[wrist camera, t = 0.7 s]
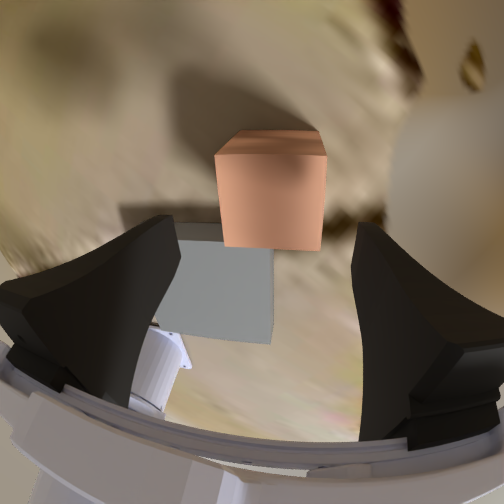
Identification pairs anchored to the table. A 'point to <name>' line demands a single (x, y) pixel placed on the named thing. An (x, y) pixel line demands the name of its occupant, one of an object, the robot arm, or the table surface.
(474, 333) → the robot arm
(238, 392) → the table surface
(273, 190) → the terracotta cube
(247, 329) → the gray plinth
